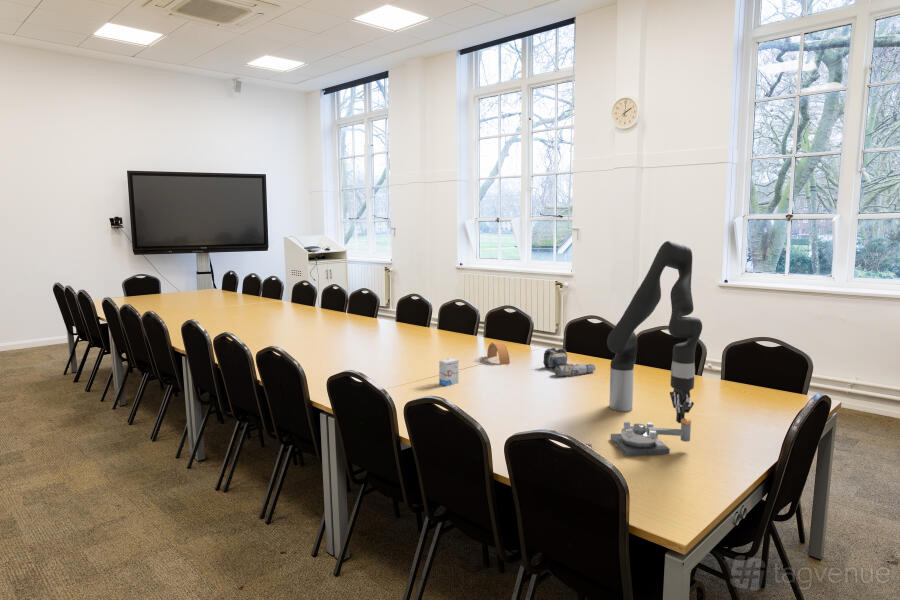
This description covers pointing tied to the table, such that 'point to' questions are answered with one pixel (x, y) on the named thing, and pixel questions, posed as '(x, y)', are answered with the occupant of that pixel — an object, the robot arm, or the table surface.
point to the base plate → (639, 448)
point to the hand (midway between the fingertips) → (680, 422)
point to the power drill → (564, 363)
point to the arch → (499, 352)
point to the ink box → (448, 371)
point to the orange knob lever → (652, 433)
